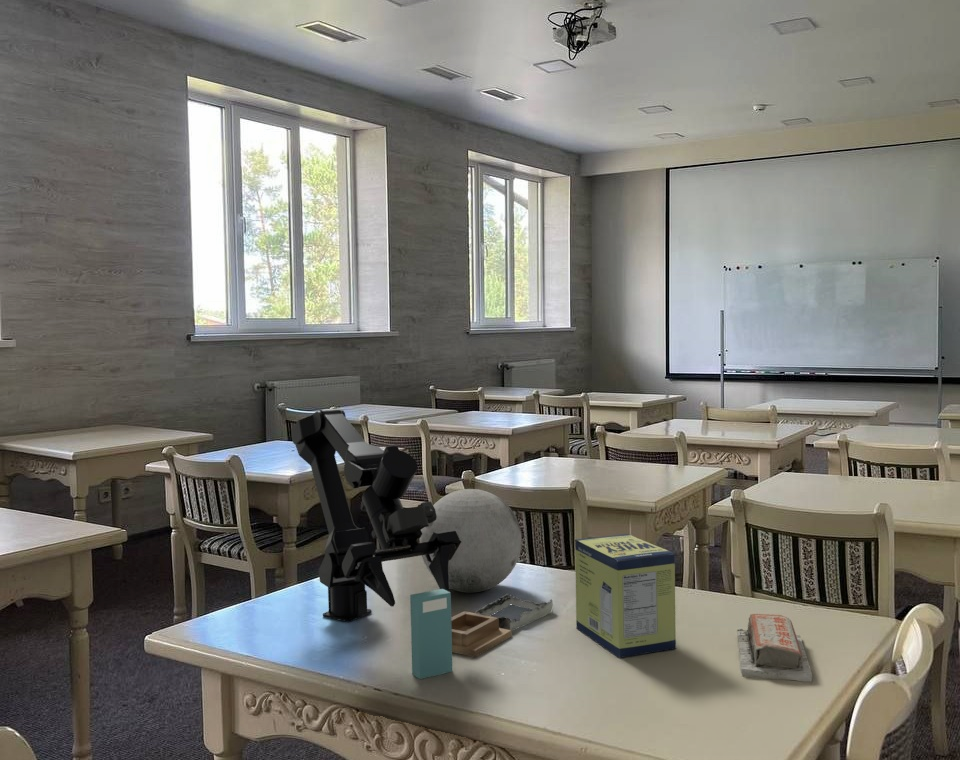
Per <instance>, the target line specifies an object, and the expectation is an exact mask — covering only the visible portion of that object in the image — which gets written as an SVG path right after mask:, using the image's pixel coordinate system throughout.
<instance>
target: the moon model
mask: <svg viewBox="0 0 960 760" xmlns="http://www.w3.org/2000/svg"><path fill="white" fill-rule="evenodd" d="M433 506H434V508H435V511H436V515H437V518H436V520H435V521H434V522H432V523H429V526H428V527H424V528H423V529H421V532H422V535H421V537H420V538H419V543H423V542H428V541H429V540H430V538H431V536H432V534H433V532H438V531H445V530H454V531H456V532H457V533H458V535H459V537H460V539H461V543H460V545H459V547H458V549H457V550H456V552H455V554H454V555H453V557H452V559H451V560H449V563H448V577H449V589H451V590H454V591H457V592H461V593H462V592H463V593H468V594H469V593H470V594H471V593H479V592H484V591H487V590H488V591H489V590H490V589H492V588H494V587H496V586H498V585H500V584H501V583H502V582H503V581H504V580H506V579H507V578H508V576H509V575H510V574H511V573H512V572H513V570H514V569H515V566H517V563H518V561H519V558H520V555H521V551H522V543H523V542H522V541H523V540H522V531H521V527H520V523H519V521H518V518H517V516H516V514H515V513H514V511H513V510H512V509H511V507H510V506H509V505H508V504H507V503H506V501H504V500H503V499H502V498H501V497H499V496H497V495H496V494H493V493H491V492H489V491H486V490H483V489H478V488H465V489H459V490H455V491H452V492H450V493H448V494H446V495H444V496H442V497H441V498H440V499H438V501H436V502H435V503H434V504H433ZM421 558H422V560H423V563H424V565H425V566H426V569H427V570H428V571H429V573H430V574H431V575H432V576H433V574H432V572H431V570H430V568H429V565H430V564H431V562H429V561H428V560H427V558H426V556H425V555H421Z"/></svg>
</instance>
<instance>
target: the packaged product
mask: <svg viewBox="0 0 960 760" xmlns="http://www.w3.org/2000/svg"><path fill="white" fill-rule="evenodd" d="M736 636H737V647H738V661H739V670H740V674H741V677H744V676H746V677H747V678H756V677H758V678H757V679H768V678H772V679H771V680H783V681H785V680H787V681H798V682H810V683H811V682H813V675H812V674H813V673H812V670H811V667H810V663H809V660H808V657H807V653H806V652H805V648H804V645H803V641H802V639H801V635H800V634H796V630H795V628H794V625H793V623H792V620H791V619H790V618H789V617H787V616H784V615H782V614H774V613H773V614H769V613H751V614H749V617H748V623H747V629H746V630H745V629H743V628H740V629H737V630H736ZM746 677H745V678H746Z"/></svg>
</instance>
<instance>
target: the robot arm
mask: <svg viewBox="0 0 960 760" xmlns="http://www.w3.org/2000/svg"><path fill="white" fill-rule="evenodd" d="M291 428H292V429H291V433H290V434H291V440H292V443H293V444H294V446H295V448H296V451H297V454H298V456H299V457H300V458H302V459H303V460H304V461H305V462H306V463H307V464H308V465H309V466H310V468H311V472H312V475H313V479H314V483H315V486H316V490H317V493H318V498H319V502H320V504H321V506H320V507H321V509H322V513H323V516H324V520H325V524H326V528H327V532H328V538H327V540H326V544H325V547H324V551H323V553H324V558H323V559H322V562H321V563H320V566H319V568H318V577H319V583H320V584H322V585H324V586H326V587H327V595H328V596H327V597H328V598H327V599H328V603H327V604H328V611H325V612H323V613H322V617H323V618H329V619H334V620H338V621H341V622H342V621H343V622H347V623H349V622H352V621H354V620H358V619H360V618H362V617H365V616H366V615H368V614H372V611H373V610H372V609H370V608H368V596H367V595H368V594H367V593H368V591H367V590H366V587H368V588H369V589H370V590H371V591H372V592H374V593H375V594H376V595H377V596H379V597H380V598H381V599H382V600H383V601H384V602H386V604H388V605H389V606H390V607H394V606H395V604H396V600H395V597H394V593H393V590H392V588H391V586H390V584H389V581H388V579H387V577H386V574H385V572H384V569H383V562H387V561H389V562H390V561H395V560H401V559H410V558H414V557H422V555H425V556H426V558H427V560H428V561H429V562H431V564H430V565H429V568H430V570H431V572H432V574H433V575H432V574H431V575H432V577H433V578H434V580H435V582H436V584H437V586H438V587H439V588H438V589H444V590H446V591H448V592H450V588H449V577H448V563H449V560H451V559H452V557H453V555H454V554H455V552H456V550H457V549H458V547H459V545H460V543H461V539H460V537H459V535H458V533H457V532H456V531H454V530H445V531H438V532H433V534H432V536H431V538H430V540H429V541H428V542H423V543H420V542H418V539H420V537H421V535H422V532H421V529H423V528H424V527H428V526H429V523H432V522H434V521H435V520H436V518H437V515H436V511H435V508H434V506H433V505H434V504H433V503H432V501H424V502H420V504H418V505H417V506H412V507H406V508H405V507H404V506H403V503H402V501H401V499H400V498H402V497H404V496H405V495H406V493H407V491H408V489H409V487H410V485H411V483H412V482H413V480H414V478H415V475H416V473H417V470H418V463H417V460H416V459H415V458H414V457H412V455H410V454H409V453H407V452H405V451H403V450H400V448H399V446H398V445H388V446H385V448H384V449H382V448H381V447H379V446H377V445H374V444H370V443H368V442H366V441H365V440H364V439H363V437H362V435H360V433H359V431H357V429H355V426H353V425H352V424H351V422H350V421H349V420H348V418H347V416H346V413H345V411H344V410H343V409H340V408H327V409H326V408H325V409H324V408H323V409H319V410H318V411H315V412H314V413H313V414H311V415H309V416H306V417H303V418H301V419H298V420H297V421H296V423H295V424H294V425H293V426H292V427H291ZM336 453H337V454H338V456H339V457H340V458H341V459H342V460H343V462H344V468H343V475H344V477H345V480H346V482H347V483H348V484H349V485H350V487H351V488H353V489H362V488H365V490H364V492H363V494H362V497H361V499H362V501H361V503H360V510H361V511H363V512H364V511H366V512H367V515H368V518H369V521H370V524H371V527H372V529H373V530H372V531H371V537H372V539H377V542H378V545H379V547H380V548H379V549H377V545H376V543H375V542H373V541H370V538H369V533H368V531H367V529H366V528H365V527H362V528H360V527H358V526H357V525H355V523H354V520H353V515H352V513H351V509H350V506H349V505H350V504H349V501H348V498H347V495H346V491H345V487H344V485H343V481H342V477H341V473H340V470H339V466H338V463H337V459H336Z"/></svg>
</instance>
